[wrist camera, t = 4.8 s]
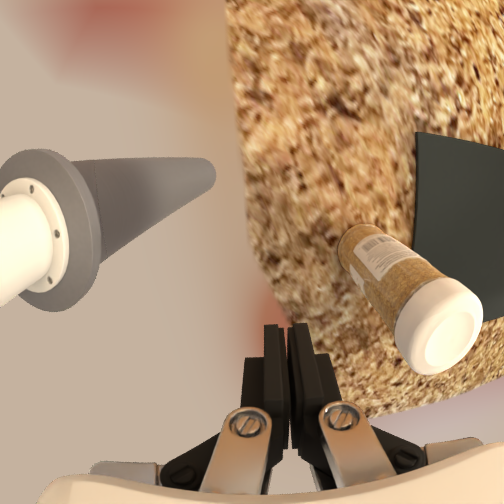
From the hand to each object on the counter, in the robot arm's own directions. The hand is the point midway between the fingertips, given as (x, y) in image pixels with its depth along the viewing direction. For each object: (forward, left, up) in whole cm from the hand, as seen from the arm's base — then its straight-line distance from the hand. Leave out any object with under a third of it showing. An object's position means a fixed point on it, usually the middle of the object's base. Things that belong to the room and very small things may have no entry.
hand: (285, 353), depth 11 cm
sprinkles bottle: (+8, 0, -13) cm, 15 cm away
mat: (+22, 0, -13) cm, 25 cm away
